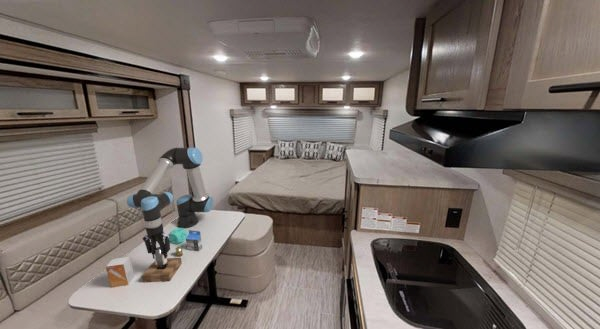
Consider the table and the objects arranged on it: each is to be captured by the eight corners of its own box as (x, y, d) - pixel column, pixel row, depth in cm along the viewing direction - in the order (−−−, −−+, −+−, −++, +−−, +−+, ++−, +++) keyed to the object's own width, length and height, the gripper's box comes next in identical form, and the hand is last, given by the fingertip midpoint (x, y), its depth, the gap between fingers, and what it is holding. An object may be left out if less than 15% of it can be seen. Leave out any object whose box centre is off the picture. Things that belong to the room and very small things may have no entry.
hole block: (157, 264, 132) (156, 258, 131) (181, 263, 132) (180, 257, 131) (142, 282, 118) (141, 276, 117) (169, 281, 119) (168, 275, 118)
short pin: (178, 253, 142) (177, 246, 140) (183, 253, 142) (182, 246, 140) (175, 257, 138) (174, 250, 137) (181, 256, 138) (180, 249, 137)
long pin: (161, 268, 126) (157, 246, 123) (167, 267, 127) (163, 246, 123) (158, 272, 123) (153, 250, 120) (164, 272, 123) (160, 250, 120)
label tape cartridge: (187, 249, 145) (184, 233, 142) (190, 246, 149) (188, 230, 146) (199, 251, 143) (196, 234, 140) (202, 247, 147) (200, 231, 144)
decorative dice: (188, 238, 158) (186, 228, 156) (179, 245, 150) (177, 234, 148) (178, 236, 160) (177, 227, 158) (169, 243, 152) (167, 232, 150)
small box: (111, 287, 115) (105, 266, 112) (117, 279, 121) (112, 258, 118) (128, 285, 117) (123, 264, 113) (134, 276, 123) (129, 256, 119)
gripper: (133, 229, 114) (142, 268, 120) (166, 228, 115) (173, 267, 120) (142, 222, 121) (150, 259, 127) (173, 221, 122) (179, 257, 128)
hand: (161, 262), depth 124 cm, fingers closed on long pin, 3 cm apart
